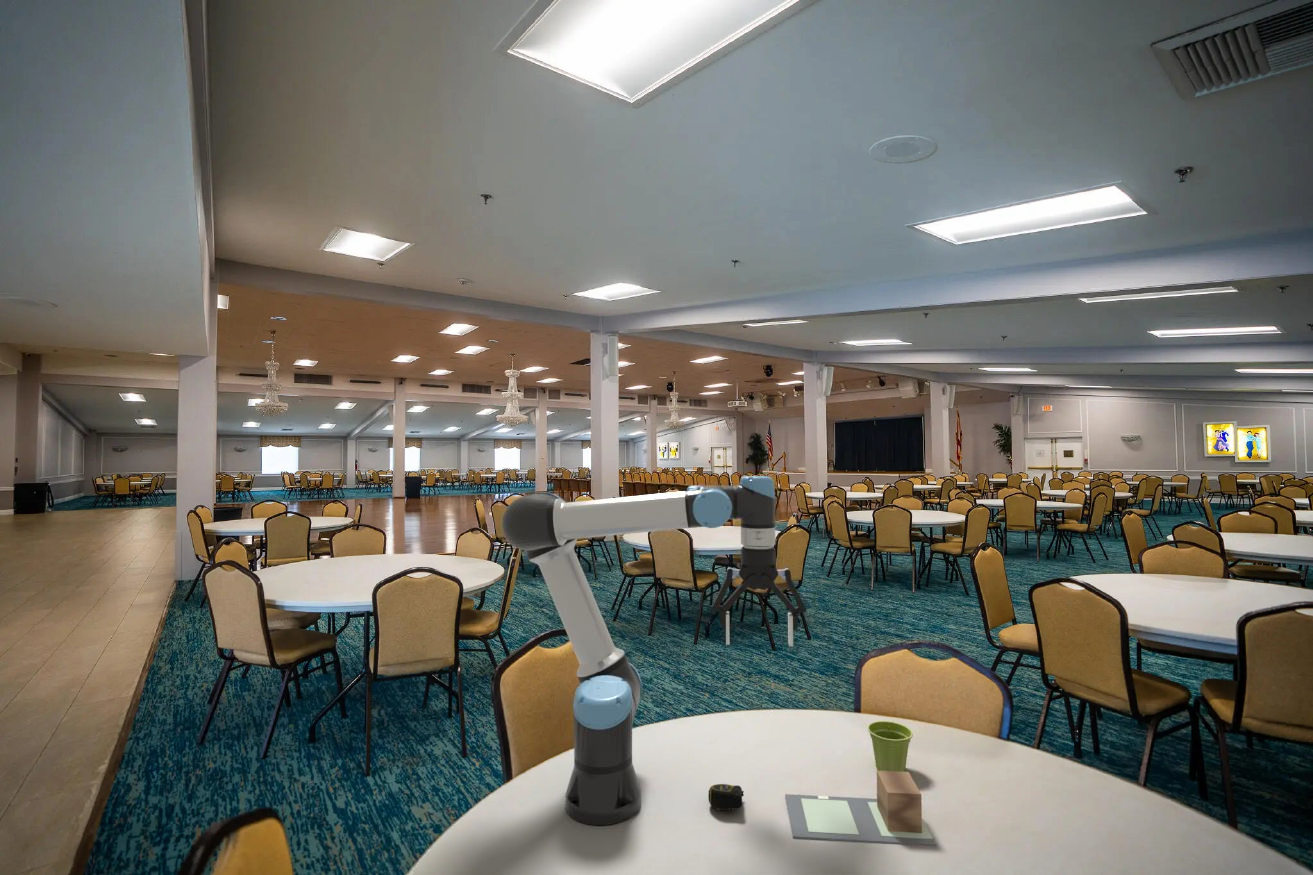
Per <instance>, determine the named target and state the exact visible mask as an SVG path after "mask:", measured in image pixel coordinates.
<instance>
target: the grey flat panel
mask: <svg viewBox="0 0 1313 875" xmlns="http://www.w3.org/2000/svg"><path fill="white" fill-rule="evenodd" d="M784 796H785V797H784V798H785V799H784V800H785V802H786V803H785V804H786V809H787V813H788V819H789V820H788V821H789V825H790V829H791V834H792V839H797V840H798V839H799V840H817V841H818V840H819V841H835V842H837V841H838V842H839V841H840V842H856V843H857V842H858V843H875V844H876V843H877V844H891V845H892V844H894V845H895V844H896V845H910V846H911V845H913V846H927V847H928V846H929V845H933V846H932V847H935V846H934V845H936V846H937V843H936V841H935V840H934V838H933V836H932V834H931V832H930V829H929V828H928V826H927V824H926V823H925V821H924V819H923V818H922V833H911V832H894V831H888V830H887V828H886V825H885V823H884V821H883V819H882V816H881V814H880V812H879V810H878V807H877V798H869V797H867V798H865V797H848V796H846V797H845V796H832V795H831V796H829V795H828V796H827V795H810V794H809V795H808V794H792V793H791V794H789V793H784Z"/></svg>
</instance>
